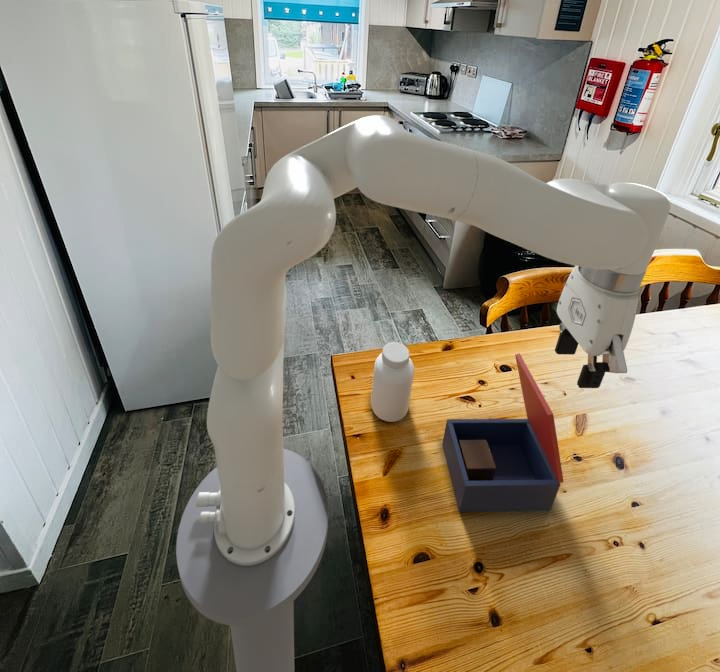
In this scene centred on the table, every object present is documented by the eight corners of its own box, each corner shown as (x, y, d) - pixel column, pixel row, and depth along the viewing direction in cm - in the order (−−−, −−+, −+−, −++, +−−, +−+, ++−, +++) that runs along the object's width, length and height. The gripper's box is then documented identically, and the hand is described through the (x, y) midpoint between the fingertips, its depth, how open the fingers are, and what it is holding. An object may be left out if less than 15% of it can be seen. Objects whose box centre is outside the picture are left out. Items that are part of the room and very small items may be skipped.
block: (462, 487, 68) (467, 468, 66) (454, 458, 72) (458, 439, 70) (491, 487, 68) (496, 468, 66) (481, 458, 72) (486, 439, 71)
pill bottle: (381, 429, 77) (387, 372, 72) (364, 396, 84) (368, 342, 78) (415, 415, 81) (424, 360, 75) (396, 385, 87) (403, 332, 82)
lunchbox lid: (548, 415, 57) (553, 414, 57) (514, 354, 67) (519, 353, 67) (558, 483, 63) (563, 482, 63) (527, 417, 74) (531, 416, 74)
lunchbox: (458, 512, 65) (465, 486, 62) (442, 443, 75) (446, 418, 73) (550, 510, 66) (560, 484, 63) (520, 443, 76) (528, 418, 74)
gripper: (552, 239, 62) (527, 329, 69) (625, 312, 46) (583, 419, 53) (598, 241, 63) (568, 330, 70) (685, 312, 47) (636, 419, 54)
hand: (575, 368), depth 61 cm, fingers open, 5 cm apart
